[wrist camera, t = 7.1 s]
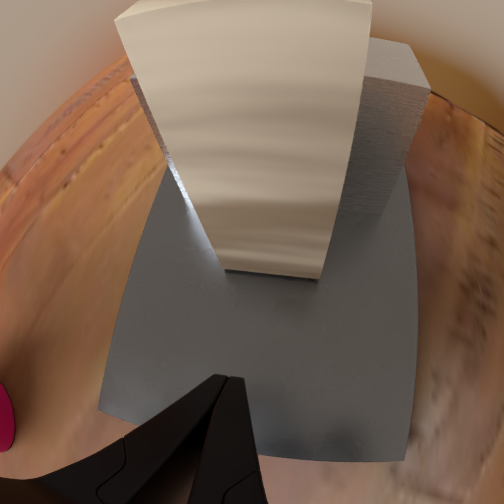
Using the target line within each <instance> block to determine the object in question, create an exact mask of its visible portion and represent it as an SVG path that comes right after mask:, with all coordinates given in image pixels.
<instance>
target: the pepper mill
mask: <svg viewBox="0 0 504 504" xmlns="http://www.w3.org/2000/svg"><path fill="white" fill-rule="evenodd" d="M14 429H15V421H14V413H13V409H12V405H11V401H10V399H9V397H8V394H7V392H6V390H5V389H4V387H3V385H2V384H1V383H0V453H1V452H4V451H6V450H7V449H8V448H9V447H10V446H11V444H12V441H13V438H14Z"/></svg>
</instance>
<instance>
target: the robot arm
mask: <svg viewBox="0 0 504 504" xmlns="http://www.w3.org/2000/svg"><path fill="white" fill-rule="evenodd" d="M0 504H268V502H267V498H266V494H265V490H264V486H263V481H262V476H261V471H260V466H259V460H258V455H257V449H256V444H255V438H254V432H253V427H252V421H251V415H250V409H249V403H248V397H247V391H246V385H245V380H244V378H243V377H236V376H230V377H228V376H227V375H222V374H213V375H211V376H210V377H209V378H207V379H206V380H205V381H203V382H202V383H201V384H199V385H198V386H196V387H195V388H194V389H192V390H191V391H190V392H188V393H187V394H185V395H184V396H183V397H181V398H180V399H178V400H177V401H175V402H174V403H173V404H171V405H170V406H168V407H167V408H165V409H164V410H163V411H161V412H160V413H158V414H157V415H155V416H154V417H152V418H151V419H149V420H148V421H146V422H145V423H143V424H142V425H140V426H139V427H137V428H136V429H134V430H133V431H131V432H130V433H128V434H126V435H125V436H124V438H120V439H118V440H117V441H115V442H114V443H112V444H110V445H109V446H107V447H105V448H104V449H102V450H100V451H98V452H97V453H95V454H93V455H91V456H88V457H86V458H84V459H82V460H80V461H78V462H76V463H73V464H71V465H69V466H66V467H64V468H62V469H59V470H57V471H54V472H52V473H49V474H47V475H44V476H41V477H38V478H33V479H26V480H19V479H10V478H3V477H0Z"/></svg>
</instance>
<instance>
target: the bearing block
mask: <svg viewBox="0 0 504 504" xmlns="http://www.w3.org/2000/svg"><path fill="white" fill-rule="evenodd" d="M130 81H131V83H132V85H133V88H134V90H135V92H136V95H137V97H138V99H139V101H140V104H141V106H142V108H143V110H144V113H145V115H146V117H147V119H148V122H149V124H150V126H151V128H152V130H153V133H154V135H155V137H156V139H157V141H158V144H159V146H160V148H161V150H162V152H163V154H164V157H165V159H166V161H167V163H168V166H167V169H166V171H165V174H164V176H163V179H162V181H161V184H160V186H159V189H158V192H157V194H156V197H155V200H154V202H153V205H152V208H151V210H150V213H149V216H148V219H147V222H146V224H145V227H144V230H143V233H142V236H141V239H140V242H139V245H138V248H137V251H136V254H135V258H134V261H133V264H132V267H131V271H130V274H129V277H128V281H127V284H126V287H125V291H124V294H123V298H122V302H121V305H120V309H119V313H118V317H117V321H116V325H115V329H114V333H113V337H112V341H111V345H110V350H109V354H108V359H107V363H106V368H105V373H104V378H103V383H102V388H101V393H100V399H99V405H98V410H99V411H102V412H104V413H107V414H109V415H112V416H114V417H117V418H120V419H122V420H125V421H128V422H131V423H134V424H136V425H139V426H140V425H142V424H143V423H145V422H146V421H148V420H149V419H151V418H152V417H154V416H155V415H157V414H158V413H160V412H161V411H163V410H164V409H165V408H167V407H168V406H170V405H171V404H173V403H174V402H175V401H177V400H178V399H180V398H181V397H183V396H184V395H185V394H187V393H188V392H190V391H191V390H192V389H194V388H195V387H196V386H198V385H199V384H201V383H202V382H203V381H205V380H206V379H207V378H209V377H210V376H211V375H213V374H222V375H227V376H228V377H230V376H236V377H243V378H244V380H245V385H246V391H247V397H248V403H249V409H250V415H251V421H252V427H253V432H254V438H255V444H256V449H257V454H259V455H266V456H274V457H282V458H291V459H301V460H314V461H331V462H388V461H404V458H405V453H406V448H407V442H408V436H409V430H410V423H411V416H412V408H413V399H414V390H415V379H416V365H417V346H418V282H417V262H416V248H415V237H414V227H413V218H412V209H411V202H410V195H409V188H408V182H407V176H406V170H405V164H404V162H405V160H406V157H407V155H408V152H409V150H410V147H411V145H412V142H413V139H414V137H415V134H416V131H417V129H418V126H419V123H420V120H421V118H422V115H423V112H424V109H425V106H426V103H427V100H428V97H429V94H430V91H431V88H430V86H429V84H428V81H427V79H426V77H425V75H424V73H423V71H422V69H421V67H420V65H419V63H418V61H417V59H416V57H415V56H414V54H413V52H412V50H411V48H410V46H409V45H407V44H402V43H398V42H393V41H388V40H383V39H377V38H371V37H369V43H368V50H367V58H366V65H365V72H364V79H363V85H362V91H361V97H360V103H359V109H358V115H357V120H356V126H355V131H354V136H353V142H352V147H351V152H350V157H349V161H348V166H347V171H346V175H345V180H344V185H343V189H342V193H341V198H340V202H339V206H338V211H337V215H336V219H335V223H334V227H333V231H332V235H331V239H330V243H329V247H328V250H327V254H326V258H325V262H324V265H323V269H322V273H321V276H320V279H313V278H304V277H294V276H285V275H275V274H266V273H257V272H248V271H240V270H231V269H223V268H222V266H221V264H220V262H219V260H218V258H217V256H216V254H215V252H214V250H213V248H212V246H211V243H210V241H209V239H208V237H207V235H206V233H205V231H204V229H203V227H202V224H201V222H200V220H199V218H198V216H197V214H196V212H195V209H194V207H193V205H192V203H191V201H190V199H189V196H188V194H187V192H186V190H185V188H184V185H183V183H182V181H181V179H180V177H179V174H178V172H177V170H176V168H175V166H174V163H173V161H172V159H171V157H170V154H169V152H168V150H167V148H166V145H165V143H164V141H163V138H162V136H161V134H160V132H159V129H158V127H157V125H156V122H155V120H154V118H153V115H152V113H151V111H150V108H149V106H148V104H147V101H146V99H145V97H144V94H143V92H142V89H141V87H140V85H139V82H138V80H137V77H136V75H135V73H134V74H133V75H132V76H131V78H130Z"/></svg>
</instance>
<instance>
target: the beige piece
mask: <svg viewBox="0 0 504 504" xmlns="http://www.w3.org/2000/svg"><path fill="white" fill-rule="evenodd" d="M371 15H372V3H371V1H370V0H139V1H138V2H137V3H135V4H134V5H133V6H131V7H130V8H129V9H127V10H126V11H125V12H124V13H122V14H121V15H120V16H118V17H117V18H116V19H115V20H114V22H115V25H116V28H117V30H118V33H119V35H120V38H121V40H122V43H123V45H124V48H125V50H126V53H127V55H128V58H129V60H130V63H131V65H132V68H133V70H134V73H135V75H136V77H137V80H138V82H139V85H140V87H141V89H142V92H143V94H144V97H145V99H146V101H147V104H148V106H149V108H150V111H151V113H152V115H153V118H154V120H155V122H156V125H157V127H158V129H159V132H160V134H161V136H162V138H163V141H164V143H165V145H166V148H167V150H168V152H169V154H170V157H171V159H172V161H173V163H174V166H175V168H176V170H177V172H178V174H179V177H180V179H181V181H182V183H183V185H184V188H185V190H186V192H187V194H188V196H189V199H190V201H191V203H192V205H193V207H194V209H195V212H196V214H197V216H198V218H199V220H200V222H201V224H202V227H203V229H204V231H205V233H206V235H207V237H208V239H209V241H210V243H211V246H212V248H213V250H214V252H215V254H216V256H217V258H218V260H219V262H220V264H221V266H222V268H223V269H231V270H240V271H248V272H257V273H266V274H275V275H285V276H294V277H304V278H313V279H320V276H321V273H322V269H323V265H324V262H325V258H326V254H327V250H328V247H329V243H330V239H331V235H332V231H333V227H334V223H335V219H336V215H337V211H338V206H339V202H340V198H341V193H342V189H343V185H344V180H345V175H346V171H347V166H348V161H349V157H350V152H351V147H352V142H353V136H354V131H355V126H356V120H357V115H358V109H359V103H360V97H361V91H362V85H363V79H364V72H365V65H366V58H367V50H368V43H369V34H370V26H371Z"/></svg>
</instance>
